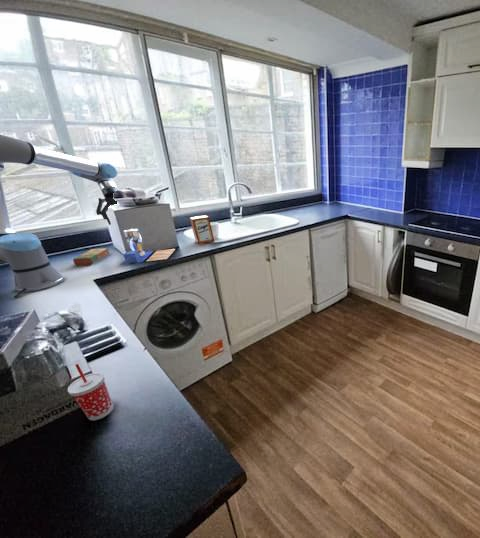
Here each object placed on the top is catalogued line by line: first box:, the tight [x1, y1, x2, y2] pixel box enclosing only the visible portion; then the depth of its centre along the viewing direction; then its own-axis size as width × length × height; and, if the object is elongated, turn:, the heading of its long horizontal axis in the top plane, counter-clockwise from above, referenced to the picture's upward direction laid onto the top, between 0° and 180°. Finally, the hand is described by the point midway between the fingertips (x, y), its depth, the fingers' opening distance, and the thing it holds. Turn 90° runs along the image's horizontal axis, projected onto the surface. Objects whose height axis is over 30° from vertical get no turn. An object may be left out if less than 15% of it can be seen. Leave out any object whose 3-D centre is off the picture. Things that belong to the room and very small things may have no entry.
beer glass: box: [123, 228, 146, 257], centre depth 162 cm, size 7×7×15 cm
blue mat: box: [121, 250, 155, 265], centre depth 163 cm, size 18×10×1 cm, turn 17°
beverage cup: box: [67, 363, 114, 421], centre depth 65 cm, size 6×6×14 cm
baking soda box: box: [189, 215, 215, 245], centre depth 187 cm, size 10×6×16 cm
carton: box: [72, 247, 110, 267], centre depth 161 cm, size 8×16×4 cm, turn 12°
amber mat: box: [146, 248, 176, 262], centre depth 166 cm, size 18×10×1 cm, turn 17°
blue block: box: [122, 250, 141, 264], centre depth 157 cm, size 5×5×5 cm
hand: (124, 220), depth 165 cm, fingers open, 13 cm apart
